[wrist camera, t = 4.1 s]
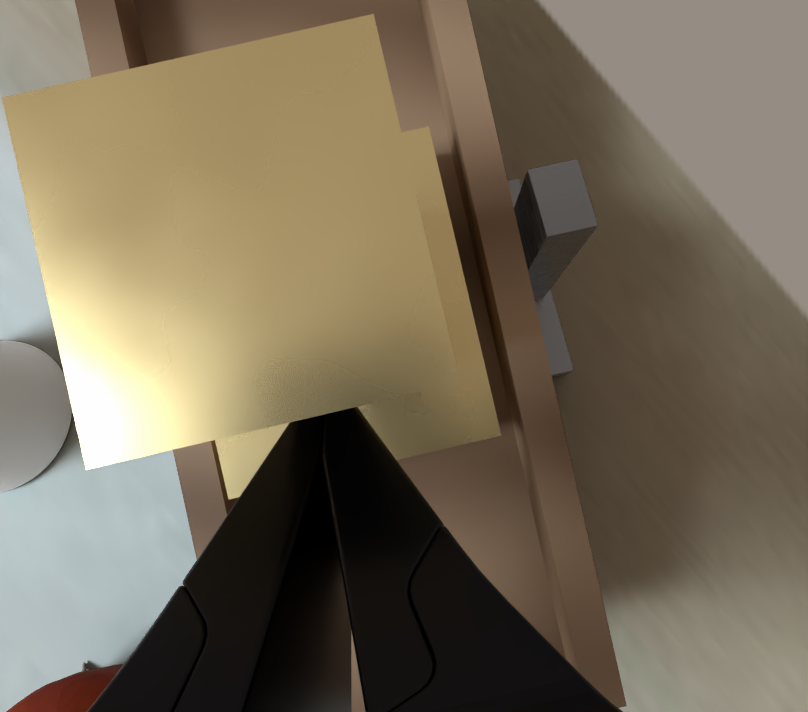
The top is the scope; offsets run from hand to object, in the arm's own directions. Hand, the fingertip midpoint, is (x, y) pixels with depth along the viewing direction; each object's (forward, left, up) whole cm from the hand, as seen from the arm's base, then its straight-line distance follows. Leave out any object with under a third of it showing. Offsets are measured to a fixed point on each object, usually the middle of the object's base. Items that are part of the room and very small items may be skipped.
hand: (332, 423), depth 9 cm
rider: (+3, -2, -6) cm, 7 cm away
